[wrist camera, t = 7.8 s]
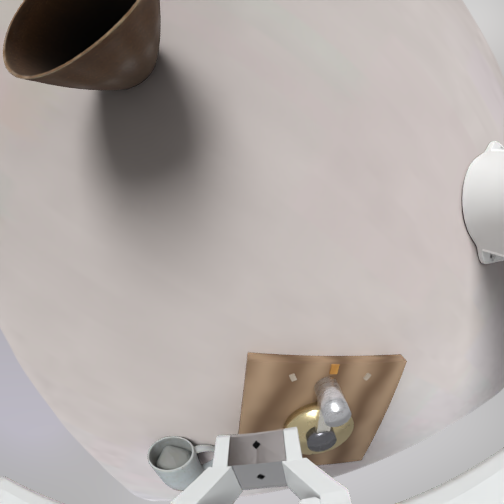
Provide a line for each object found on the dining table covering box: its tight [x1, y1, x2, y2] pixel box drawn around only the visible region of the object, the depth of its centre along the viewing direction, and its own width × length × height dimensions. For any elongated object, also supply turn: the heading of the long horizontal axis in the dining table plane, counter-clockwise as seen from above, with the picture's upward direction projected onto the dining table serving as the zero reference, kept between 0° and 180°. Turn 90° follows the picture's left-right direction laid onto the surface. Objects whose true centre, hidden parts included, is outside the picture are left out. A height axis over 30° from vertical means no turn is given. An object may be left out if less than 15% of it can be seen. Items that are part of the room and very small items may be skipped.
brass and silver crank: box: [283, 377, 354, 455], centre depth 32 cm, size 10×16×8 cm, turn 2°
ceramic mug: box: [147, 436, 215, 491], centre depth 36 cm, size 11×8×8 cm
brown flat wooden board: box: [238, 353, 407, 465], centre depth 37 cm, size 22×22×2 cm
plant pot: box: [3, 0, 160, 90], centre depth 20 cm, size 15×15×16 cm
